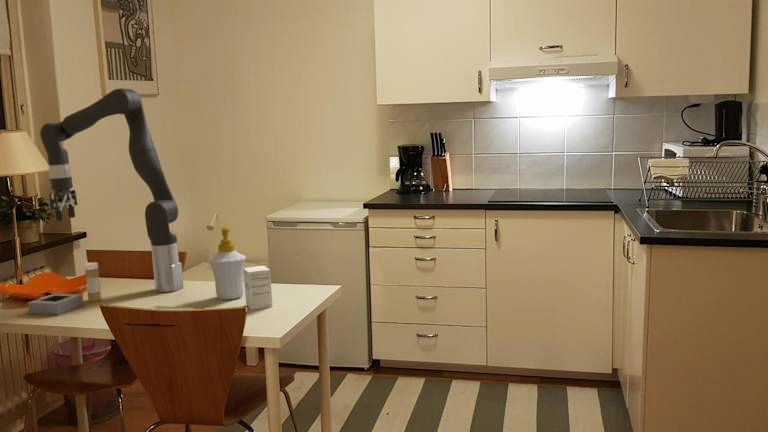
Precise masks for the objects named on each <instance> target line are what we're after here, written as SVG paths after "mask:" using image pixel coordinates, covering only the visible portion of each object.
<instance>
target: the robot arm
mask: <svg viewBox="0 0 768 432" xmlns="http://www.w3.org/2000/svg"><path fill="white" fill-rule="evenodd" d="M142 101H143V100H142V98H141V96H140V95H139V93H138V92H137V91H136V90H134V89H131V88H121V87H120V88H116V89H113V90H111V91H110V92H109V93H107V94H105V95H104V96H103V97H101V98H100V99H99V100H97V101H95V102H94V103H92V104H90V105H88V106H87V107H84V108H82V109H80V110H77V111H76V112H74V113H71V114H69V115H66V116H65V117H64V118H63V120H62V121H60V122H49V123H45V124H43V125H42V126H41V128H40V132H39V135H40V141H41V143H42V145H43V148H44V150H45V153H46V154H47V162H48V176H49V181H50V190H51V191H54V193H50V194H49V203H50V210H51V211H54V212H55V218H56V219H55V220H56V222H62V221H64V217H63V207H64V206H65V205H66V206H67V214H68V218H70V219H71V218H72V219H73V218H75V217H76V212H75V211H76V210H75V207H76V206H78V198H77V192H76V191H77V190H75V189H73V188H74V186H73V178H72V170H71V165H70V160H69V159H70V158H69V152H68V150H67V149H66V148H62V146H61V144H60V142H65V141H67V140H69V139H71V138H72V137H73V136H75V135H77V134H79V133H81V132H83V131H85V130H87V129H90V128H91V127H93V126H94V125H96V124H97V123H98V122H99V121H101V120H103V119H105V118H108V117H111V116H115V115H123V116H124V117H125V120H126V124H127V126H128V130H129V136H128V137H129V138H128V153H129V157H130V159H131V163H132V166H133V168H134V170H135V172H136V173H137V175H138V176H139V177H140V179H141V180H142V181H143V182H144V183H145V184H146V185H147V187H148V188H149V190H150V192H151V194H152V197H153V201H151V202H149V203H148V204H147V205H146V206H145V207H146V208H145V211H144V218H145V226H146V233H147V237H148V239H149V241H150V247H151V248H150V249H151V257H152V258H151V259H152V269H153V277H154V278H153V281H154V288H155V292H159V293H169V292H176V291H178V290H180V289H183V288H184V286H185V285H184V278H183V265H182V262H180V260H179V259H180V258H179V249H178V248H179V247H178V238H177V234H175V233H173V232H172V231H171V230H170V229H171V228H170V224H172V223H174V222H175V221H176V220H177V219H178V217H179V207H178V205H177V202H176V200H175V198H174V196H173V194H172V192H171V189H170V187H169V184H168V182H167V179H166V176H165V173H164V171H163V169H162V165H161V163H160V159H159V155H158V153H157V149H156V146H155V145H154V142H153V138H152V135H151V133H150V129H149V126H148V123H147V120H146V114H145V110H144V105H143V102H142Z"/></svg>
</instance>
